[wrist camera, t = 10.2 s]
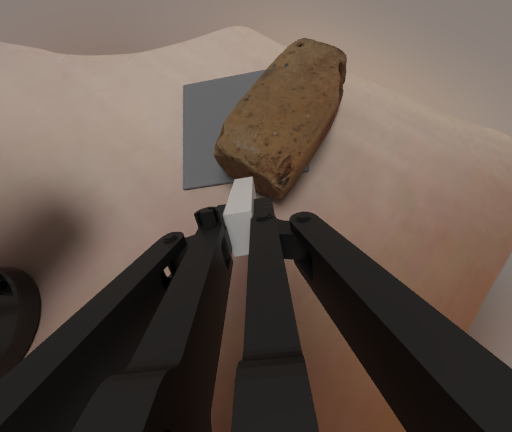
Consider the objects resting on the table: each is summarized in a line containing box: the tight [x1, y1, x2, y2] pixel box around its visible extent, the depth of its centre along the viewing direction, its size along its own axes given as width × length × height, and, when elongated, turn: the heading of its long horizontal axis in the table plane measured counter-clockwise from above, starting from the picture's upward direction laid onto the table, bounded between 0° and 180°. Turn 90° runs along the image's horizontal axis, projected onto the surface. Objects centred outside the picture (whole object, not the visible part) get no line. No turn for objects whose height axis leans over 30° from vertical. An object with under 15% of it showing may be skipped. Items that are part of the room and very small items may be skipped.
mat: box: [183, 70, 309, 190], centre depth 31 cm, size 18×20×1 cm
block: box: [214, 38, 347, 199], centre depth 26 cm, size 11×8×20 cm
